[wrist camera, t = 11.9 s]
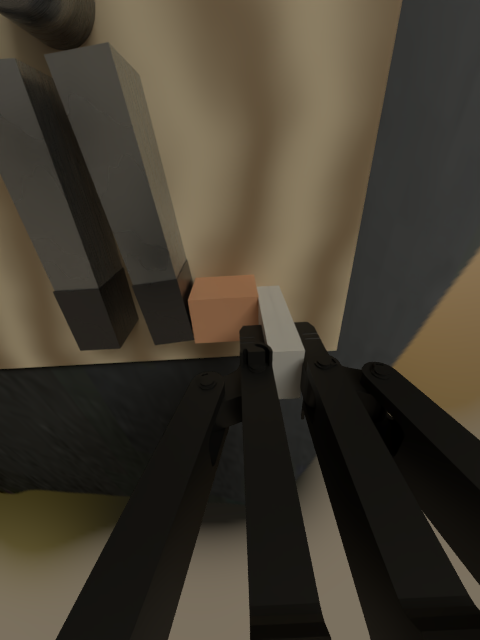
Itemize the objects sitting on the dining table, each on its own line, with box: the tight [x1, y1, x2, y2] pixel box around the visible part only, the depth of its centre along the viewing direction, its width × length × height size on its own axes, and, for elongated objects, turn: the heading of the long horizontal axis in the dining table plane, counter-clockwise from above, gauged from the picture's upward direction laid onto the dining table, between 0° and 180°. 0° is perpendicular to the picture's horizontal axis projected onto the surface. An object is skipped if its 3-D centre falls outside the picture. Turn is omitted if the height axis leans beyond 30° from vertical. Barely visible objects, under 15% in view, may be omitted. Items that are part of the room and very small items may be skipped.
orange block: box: [188, 275, 259, 343], centre depth 16 cm, size 4×3×4 cm
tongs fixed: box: [0, 0, 139, 351], centre depth 12 cm, size 18×5×4 cm, turn 3°
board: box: [0, 0, 402, 369], centre depth 16 cm, size 30×22×1 cm
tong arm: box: [44, 42, 195, 345], centre depth 14 cm, size 13×2×4 cm, turn 8°
